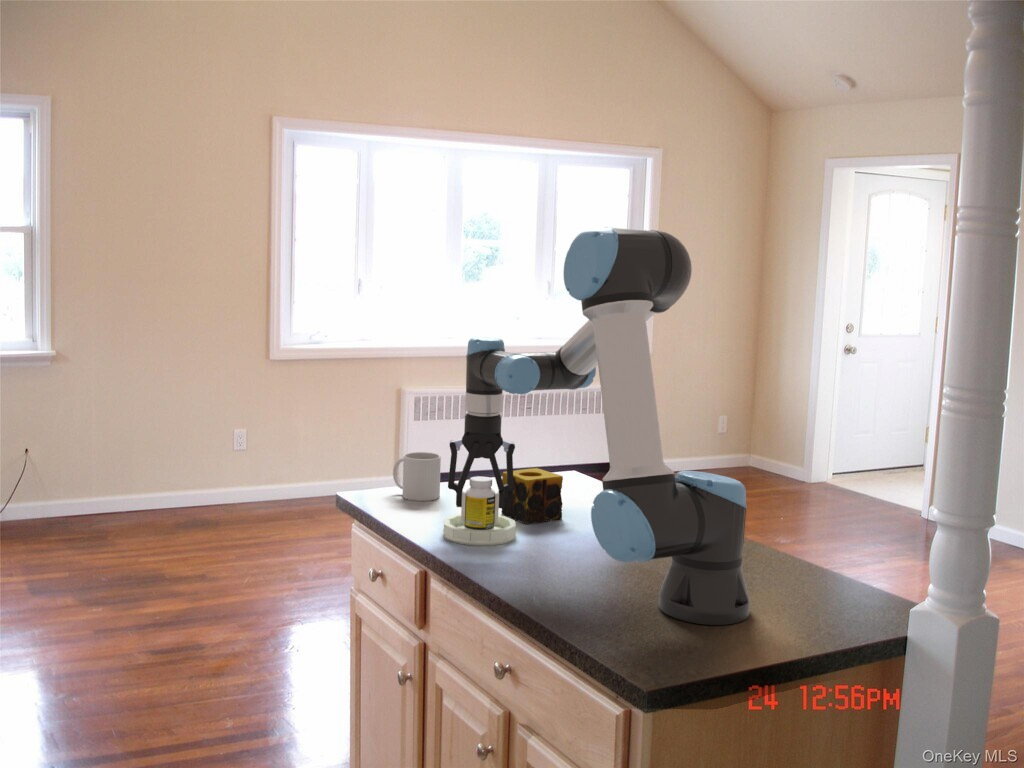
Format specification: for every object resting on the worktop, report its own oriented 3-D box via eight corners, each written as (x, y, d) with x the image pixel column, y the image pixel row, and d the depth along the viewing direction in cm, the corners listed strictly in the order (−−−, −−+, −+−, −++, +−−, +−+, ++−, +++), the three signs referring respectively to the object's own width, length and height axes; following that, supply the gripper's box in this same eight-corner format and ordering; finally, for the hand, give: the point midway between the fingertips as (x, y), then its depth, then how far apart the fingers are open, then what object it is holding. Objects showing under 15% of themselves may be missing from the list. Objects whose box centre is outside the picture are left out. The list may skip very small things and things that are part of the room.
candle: (563, 519, 224) (564, 476, 223) (525, 525, 219) (527, 480, 217) (536, 509, 233) (538, 467, 231) (500, 514, 227) (501, 471, 226)
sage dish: (517, 546, 202) (517, 533, 202) (442, 545, 201) (442, 531, 201) (513, 526, 217) (513, 513, 217) (443, 524, 216) (444, 512, 216)
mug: (445, 499, 239) (446, 458, 237) (408, 502, 234) (409, 460, 233) (427, 489, 248) (428, 449, 247) (391, 492, 244) (392, 451, 242)
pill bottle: (490, 536, 205) (492, 483, 204) (460, 533, 207) (462, 480, 205) (497, 528, 211) (498, 476, 210) (468, 525, 213) (470, 474, 211)
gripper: (528, 411, 210) (524, 518, 213) (436, 408, 209) (433, 516, 212) (531, 417, 203) (526, 528, 206) (436, 414, 202) (432, 526, 205)
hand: (479, 522), depth 209 cm, fingers closed on pill bottle, 6 cm apart
